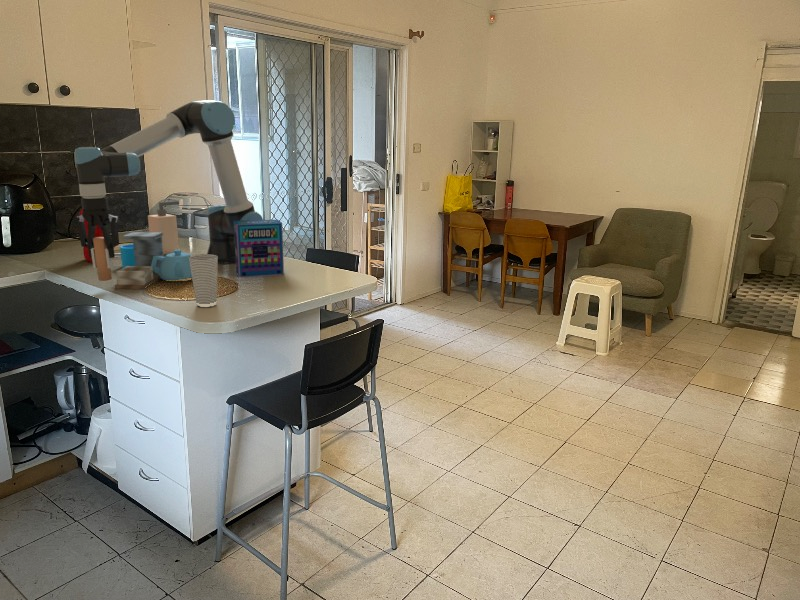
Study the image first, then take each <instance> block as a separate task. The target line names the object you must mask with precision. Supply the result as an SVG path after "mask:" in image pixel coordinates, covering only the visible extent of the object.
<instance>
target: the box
mask: <svg viewBox="0 0 800 600" xmlns="http://www.w3.org/2000/svg"><path fill="white" fill-rule="evenodd" d="M283 231H284V230H283V222H281V220H279V219H263V220H249V221H234V239H235V257H236V262H235V268H236V269H235V270H236V274H238V275H237V276H239V277H244V278H258V277H273V276H275V277H276V276H284V275H285V269H284V268H285V266H284V239H283V236H284V235H283ZM239 277H238V278H239Z"/></svg>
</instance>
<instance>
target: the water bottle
mask: <svg viewBox="0 0 800 600" xmlns="http://www.w3.org/2000/svg"><path fill="white" fill-rule="evenodd" d="M82 213H83V209H80V211H79V213H78V216H81V215H82ZM84 223H85V228H86V233H87V238H88V222H87V221H86V220H85V219H84ZM96 237H103V234H102V231H101V229H100V227H99V226H97V225H96V228H95V238H96ZM82 252H83V257H84V260H85V261H88V262H89V263H93V261H92V258H90V257H89V252H88V248H87V247H83V249H82Z"/></svg>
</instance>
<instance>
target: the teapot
mask: <svg viewBox="0 0 800 600" xmlns="http://www.w3.org/2000/svg"><path fill="white" fill-rule="evenodd" d="M190 256H192V255H191V254H190V253H189V252H183V250H182V249H180V248H179V249H178V250H174V253H170V254H165V256H163V257H162V256H155V255H154V256H153V260H152V264H151V266H152V268H153V271H154V272H156V273H157V274H158V275H159V276H160V277H161V278H160V279H161V280H163V281H164V280H179V279H187V278H192V275H191V269H190V263H189V257H190ZM157 260H161V261H162V263H161V265H160V268H159V267H157V266H156V263H157Z"/></svg>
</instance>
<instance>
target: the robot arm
mask: <svg viewBox="0 0 800 600" xmlns="http://www.w3.org/2000/svg"><path fill="white" fill-rule="evenodd" d="M235 125H236V116H235V114H234V111H233V110H232V108H231V107H230V106H229V105H228V104H227V103H226V102H223V101H220V100H213V99H212V100H194V101H190V102H187V103H186V104H183V105H182V106H180V107H178V108H176V109H173V110H172V111H170V112H168V113H167V114H166V116H165V118H163V119H161V120H159V121H157V122H154V123H153V124H151V125H149V126H147V127H145V128H143V129H141V130H139V131H136V132H134V133H133V134H131V135H129V136H126V137H125V138H123V139H121V140H119V141H117V142H115V143H114V142H113V144H111V145H109V146H106V147H104V148H102V149H100V148H99V147H95V146H94V147H88V146H87V147H78V148H75V150H74V163H75V169H76V173H77V180H78V189H79V195H80V197H81V198H80V204H81V208H82V209H83V213H82V215H81V216H79V215H78V216H75V217H74V222H75V223H76V225H77V230H78V235H79V240H80V245H81V247H87V248H88V252H89V257H90V258H92V261H93V262H92V267H93V268H92V269H97V265H96V258H95V251H94V244H93V238H95V228H96V225H97V226H99V227H100V229H101V231H102V234H103V237H104V240H105V242H106V245H107V248H106V249H105V253H106V260H107V267H108V268H110V269H111V268H113V267H114V261H113V259H114V258H115V250H114V248H115V247H116V248H117V246H119V245H120V237H119V225H118V221H119V219H120V218H119V216H118V215H112V214H111V213H110V211H109V204H108V198H107V197H106V195H107V191H106V183H105V182H106V181H105V178H108V177H130V176H137V175H138V174H139V173H140V172H141V160H140V158H139V157H141V156H144V155H145V154H147V153H149V152H151V151H153V150H155V149H156V148H157V149H158V147H160V146H163V145H164V144H165V145H166V144H167V143H169V142H170V141H172V140H173V139H176V138H180V139H181V138H184V137H186V136H190V135H193V134H200V138H201V141H202V143H203V144H205V145H207V146H208V149H209V153H210V156H211V160H212V163H213V167H214V171H215V172H216V177H217V180H218V183H219V186H220V189H221V190H220V191H221V192H222V193H221V194H222V196H223V200H224V203H225V204H222V205H212V206H209V207H208V209H207V219H208V220H207V221H208V235H209V244H208V248H207V252H206V254H212V255H216V256H218V264H234V263H236V257H235V239H234V221H249V220H264V218H263V216H262V215H261V214H260V213H259V212H258V211H256V210H255V207H254V203H253V202H252V201H250V200H248V199H249V198H248V195H247V193H246V189H245V186H244V182H243V179H242V175H241V171H240V168H239V165H238V161H237V156H236V154H235V150H234V147H233V144H232V138H233V137H234V132H233V130H234V128H235ZM84 219H85V220H86V221H87V222H88V238H87V233H86V228H85V223H84ZM108 220H109V223H110V230H109V225H108Z"/></svg>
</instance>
